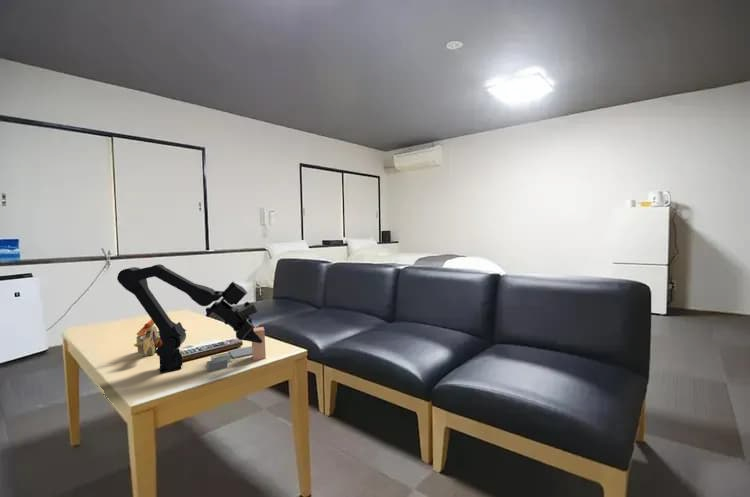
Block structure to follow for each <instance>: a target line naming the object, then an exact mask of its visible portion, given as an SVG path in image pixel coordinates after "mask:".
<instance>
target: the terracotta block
mask: <svg viewBox="0 0 750 497" xmlns="http://www.w3.org/2000/svg"><path fill="white" fill-rule="evenodd" d="M254 332H255V333H256V334H257V335H258V336H259V337H260V338H261V340H262V343H256V342H251V346H252V355H251V356H252V360H253V361H259V360H265V359H266V358H267V357H266V355H267V354H266V352H267V351H266V338H265V337H266V335H265V334H266V333H265V332H266V331H265V327H264V326H259V327H255V328H254Z"/></svg>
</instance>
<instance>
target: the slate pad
mask: <svg viewBox="0 0 750 497" xmlns="http://www.w3.org/2000/svg"><path fill="white" fill-rule="evenodd" d="M228 353H229V354H230V357H231V358H232V359H233V360H234V359H238V358H244V357H248V356H252V345H250V346H245V347H241V348H235V349H232V350H228Z"/></svg>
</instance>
